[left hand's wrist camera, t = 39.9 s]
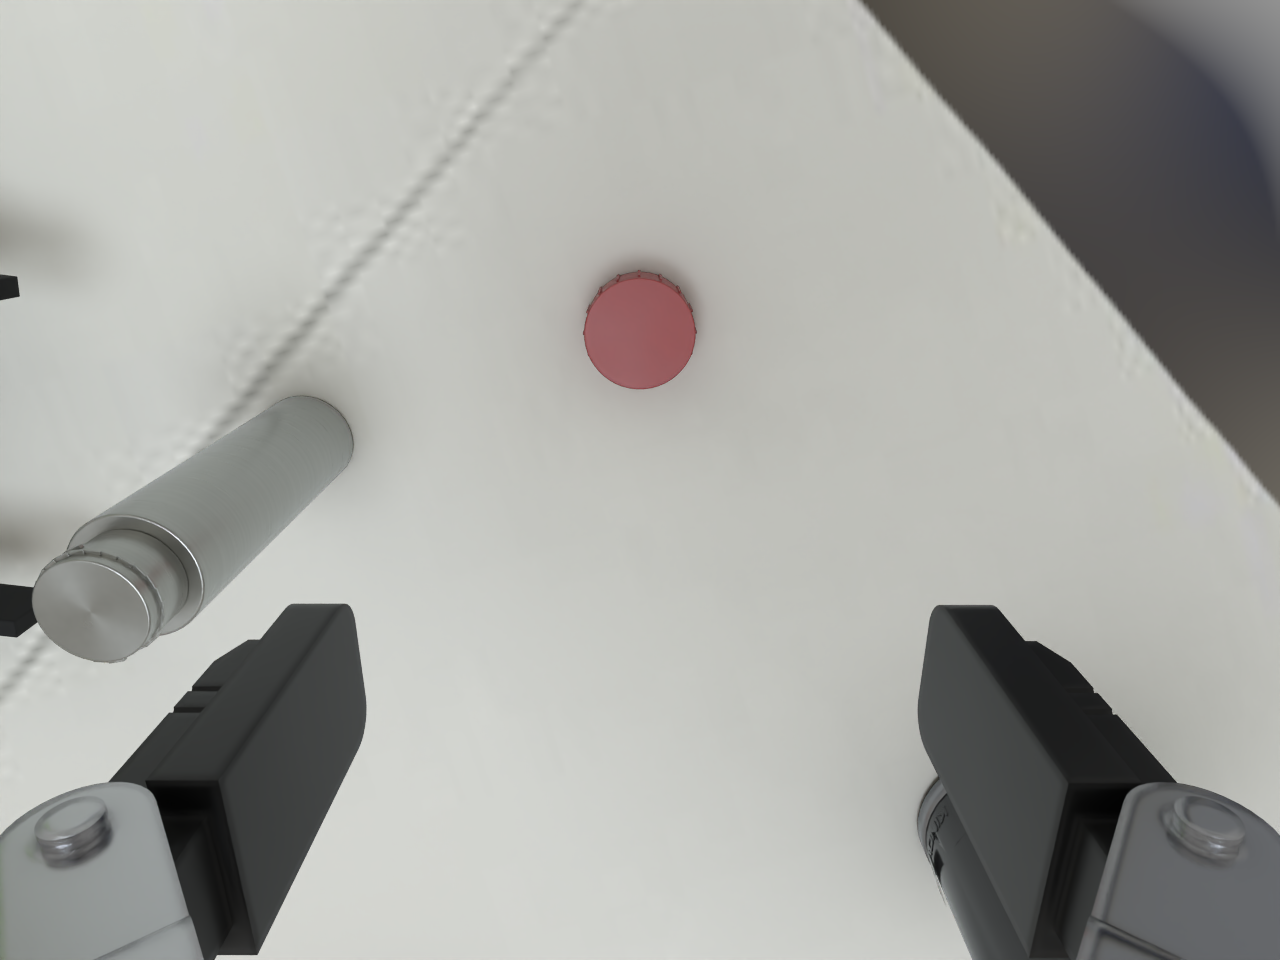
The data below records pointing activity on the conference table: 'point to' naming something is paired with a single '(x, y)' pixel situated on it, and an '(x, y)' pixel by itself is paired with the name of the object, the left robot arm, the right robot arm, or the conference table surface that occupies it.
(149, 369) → the conference table surface
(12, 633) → the right robot arm
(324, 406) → the silver metal cylinder
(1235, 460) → the conference table surface
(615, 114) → the conference table surface
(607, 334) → the lid
